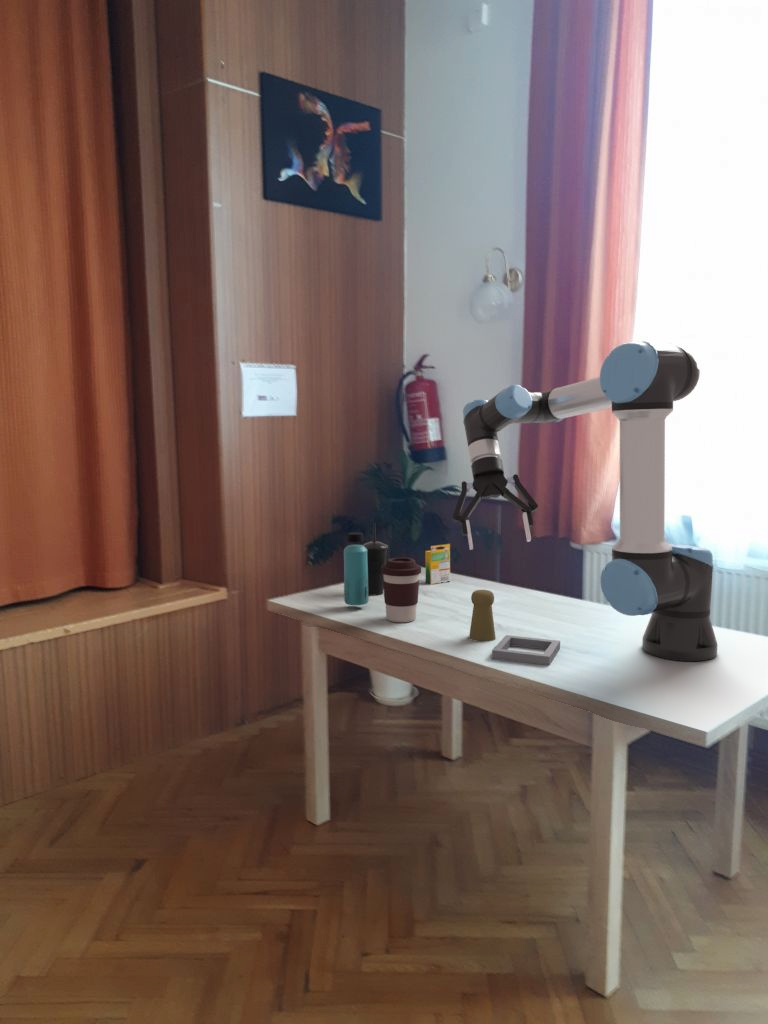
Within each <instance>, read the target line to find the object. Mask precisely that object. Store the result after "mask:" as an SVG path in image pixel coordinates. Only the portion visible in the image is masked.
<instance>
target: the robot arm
mask: <svg viewBox="0 0 768 1024" xmlns="http://www.w3.org/2000/svg"><path fill="white" fill-rule="evenodd" d="M700 369H701V368H700V363H699V362H698V359H697V357H696V356H695V355H694V353H693V352H692V351H691V350H690V349H688V348H687V347H685V346H682V345H680V344H673V343H661V342H659V343H658V342H651V341H633V342H632V341H631V342H626V343H621V344H619V345H618V346H616V347H615V348H613V349H612V350H611V351H610V352H609V354H608V355H607V356H606V357H605V359H604V360H603V363H602V365H601V367H600V372H599V376H597V377H594V378H590V379H585V380H583V381H582V380H581V381H579V382H574V383H570V384H567V385H563V386H559V387H555V388H553V389H549V390H545V391H537V392H536V391H533V392H532V391H528V390H527V388H526V387H523V386H521V385H519V384H511V385H509V386H508V387H506V388H504V389H502V390H501V391H499V392H498V393H497V394H496V395H495V396H493V397H492V398H490V399H489V400H487V399H474V400H473V401H469V402H468V403H466V404H465V405H464V406H463V409H462V416H463V425H464V430H465V436H466V437H465V438H466V444H467V448H468V449H467V450H468V453H469V461H470V463H471V466H470V467H471V474H472V479H473V481H472V482H466V481H465V480H464V481H462V482H461V492H460V495H459V497H458V500H457V503H456V506H455V508H454V512H453V515H452V522H453V523H459V524H460V526H461V534H462V536H465V537H466V536H467V541H468V546H469V551H471V550H474V544H473V538H472V537H473V536H472V531H471V525H470V524H471V523H470V520H469V518H470V516H471V515H472V513H473V511H474V510H475V509H476V507H477V506H478V504H479V503H480V502H481V501H482V499H485V500H487V499H488V500H489V499H491V498H493V499H494V498H495V499H497V498H499V497H502V498H503V499H506V500H508V502H509V503H511V504H512V505H513V506H515V508H517V509H518V510H520V511H521V512H522V521H523V525H524V533H525V537H526V542H527V543H529V542H531V540H532V535H531V534H532V533H531V530H530V528H532V527H533V524H534V522H533V515H532V513H534V512H536V511H537V510H538V507H539V504H538V503H537V502H536V501H535V500H534V498H533V497H532V496H531V494H530V492H528V490H527V489H526V487H524V485H523V484H522V483H521V480H520V478H519V475H518V474H517V473H516V474H513V476H509V477H506V475H505V471H504V465H503V460H502V459H501V458H502V454H501V449H500V444H499V438H498V432H500V431H502V430H503V429H504V428H506V427H507V426H508V427H509V426H510V425H513V424H532V423H533V424H537V423H538V424H540V423H541V424H552V423H559V422H561V421H563V420H564V419H567V418H570V417H571V418H572V417H575V416H580V415H585V414H590V413H593V412H598V411H603V410H607V409H611V414H612V415H614V417H616V419H617V420H619V539H618V540H617V541H616V542H615V543H614V544H613V545H612V546H611V560H610V561H608V563H607V564H606V565H605V566H604V567H603V568H602V570H601V573H600V579H599V580H600V588H601V592H602V594H603V597H604V598H605V600H606V602H607V603H609V604H610V606H611V607H612V608H613V609H614V610H615V611H616V612H618V613H620V614H621V615H625V616H629V617H630V616H631V617H635V616H646V615H649V614H651V615H650V618H649V621H648V624H647V625H646V629H645V631H644V633H643V636H642V644H641V645H642V646H641V647H642V650H643V651H644V652H646V653H648V654H650V655H652V656H655V657H658V658H662V659H668V660H671V661H672V660H673V661H683V662H701V661H709V660H712V659H714V658H716V657H717V655H718V642H717V637H716V634H715V631H714V628H713V624H712V621H711V606H712V586H713V585H712V584H713V573H714V572H713V571H714V564H713V557H714V556H713V552H712V551H711V550H710V549H707V548H705V547H701V546H694V545H688V544H682V543H681V544H678V543H671V542H670V543H668V542H667V540H666V539H665V501H666V500H665V499H666V498H665V495H666V494H665V493H666V492H665V490H666V488H665V487H666V485H665V475H666V473H665V471H666V470H665V469H666V466H665V464H666V462H665V461H666V460H665V457H666V454H665V453H666V451H665V450H666V440H665V439H666V436H665V434H666V418H667V417H669V415H670V414H671V413H672V412H673V411H674V402H676V401H680V400H683V399H684V398H686V397H687V396H689V395H690V394H691V393H692V392H693V391H694V390H695V388H696V386H697V384H698V382H699V379H700V374H701V373H700V371H701V370H700ZM508 484H510V486H513V487H514V488H515V490H516V491H517V493H518V494H519V496H521V498H522V499H523V500H524V502H523V501H522V500H521V499H520V498H519V497H517V496H516V495H515V494H514V493H512V492H511V491H510V490H509V489H508V488H507V485H508ZM472 489H473V490H474V492H476V493H475V494H474V496H473V498H472V499H471V501H470V502H469V504H468V506H467V507H466V509H465V510H464V512H463V514H462V515H461V511H462V509H463V507H464V504H465V502H466V501H465V500H466V497H467V493H469V492H470V491H471V490H472Z"/></svg>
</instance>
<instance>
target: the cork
mask: <svg viewBox="0 0 768 1024" xmlns="http://www.w3.org/2000/svg"><path fill="white" fill-rule="evenodd" d="M470 598H471V599H470V600H471V602H472V605H473V607H472V614H471V623H470V629H469V634H468V635H469V636H468V638H469V639H470V640H471V639H472V641H474V640H475V641H476V642H483V641H485V642H492V641H495V640H496V631H495V622H494V615H493V604H494V602H495V595H494V593H493V592H492V591H491V590H489V589H488V590H486V589H478V590H474V591H472V593H471V597H470Z"/></svg>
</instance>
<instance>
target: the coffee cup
mask: <svg viewBox="0 0 768 1024" xmlns="http://www.w3.org/2000/svg"><path fill="white" fill-rule="evenodd" d="M381 573H382V574H384V580H383V587H384V590H383V597H384V598H383V599H384V604H385V614H386V620H388V621H390V622H391V623H409V622H414V621H415V619H416V618H417V607H418V606H417V604H418V602H419V591H420V590H419V587H420V579H419V575H420V574H421V573H422V566H421V565H420V564H417V562H416V560H415V559H413V558H410V557H391V558H389V559H386V564H384V565H382V566H381Z"/></svg>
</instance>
